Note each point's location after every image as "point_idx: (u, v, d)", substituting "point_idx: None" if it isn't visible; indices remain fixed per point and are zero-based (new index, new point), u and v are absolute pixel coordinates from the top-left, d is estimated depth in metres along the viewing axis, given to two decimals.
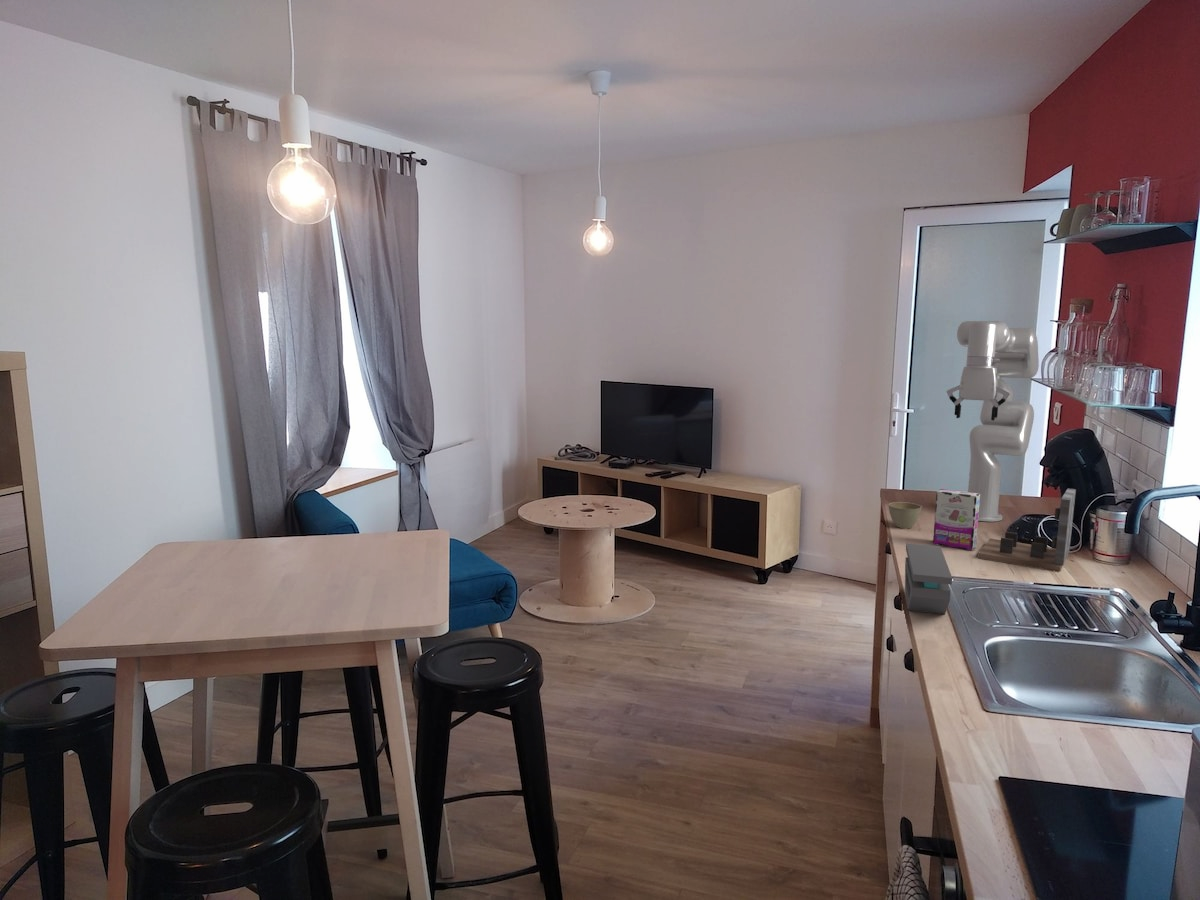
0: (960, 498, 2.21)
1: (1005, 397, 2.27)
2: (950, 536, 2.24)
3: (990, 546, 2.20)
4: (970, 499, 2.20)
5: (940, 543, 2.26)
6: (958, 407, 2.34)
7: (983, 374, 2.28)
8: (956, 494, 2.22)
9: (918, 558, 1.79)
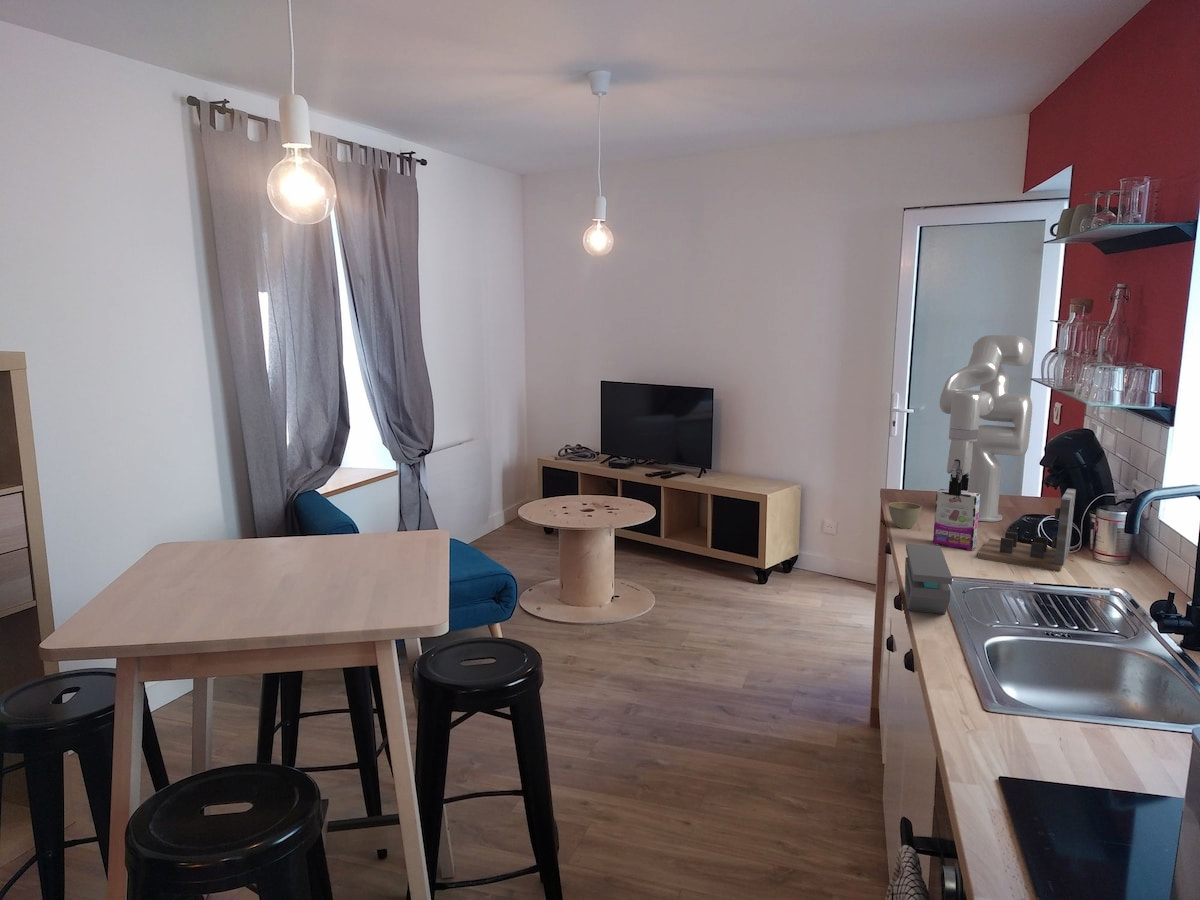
0: (960, 498, 2.21)
1: None
2: (950, 536, 2.24)
3: (990, 546, 2.20)
4: (970, 499, 2.20)
5: (940, 543, 2.26)
6: (961, 484, 2.18)
7: (972, 446, 2.21)
8: None
9: (918, 558, 1.79)
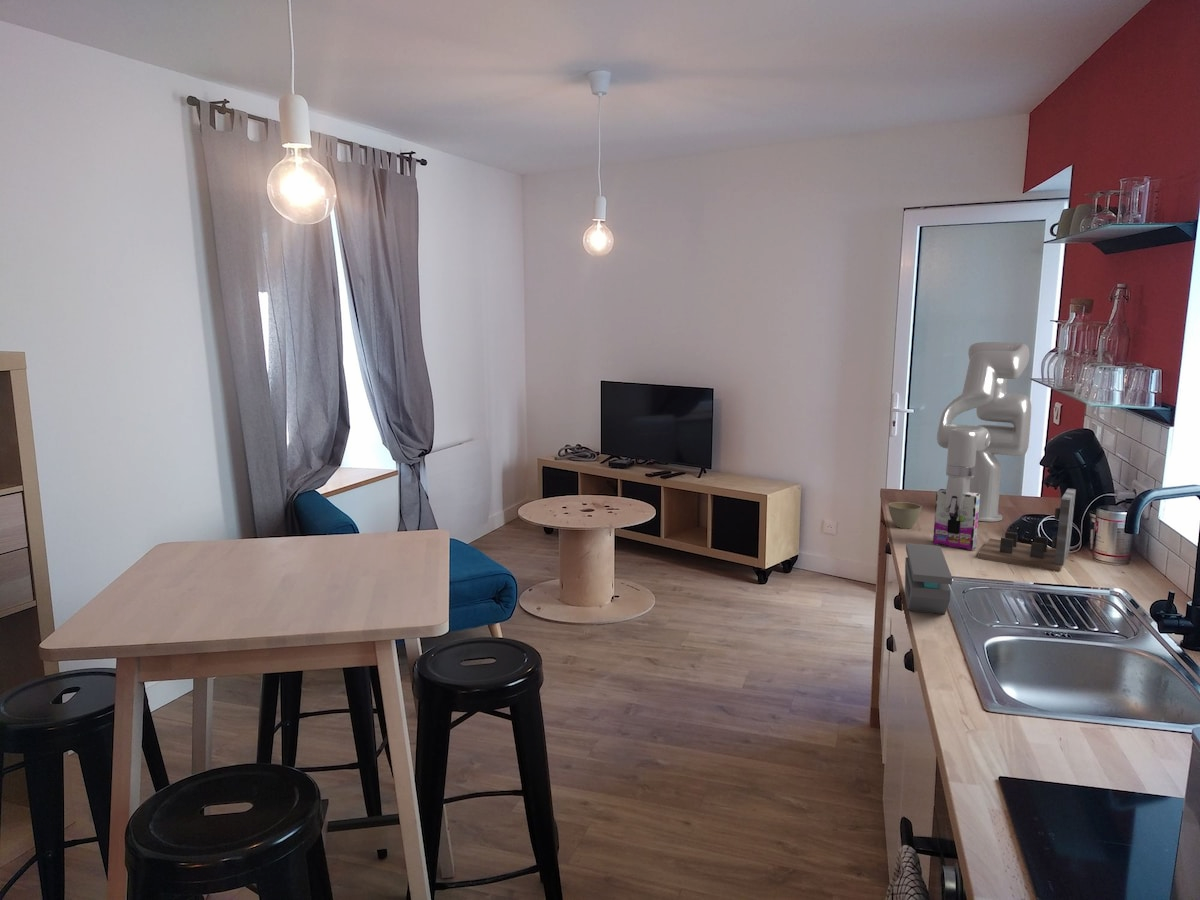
0: None
1: None
2: (950, 535, 2.24)
3: (990, 546, 2.20)
4: (970, 499, 2.20)
5: (940, 543, 2.26)
6: (959, 522, 2.22)
7: (969, 482, 2.23)
8: None
9: (918, 558, 1.79)
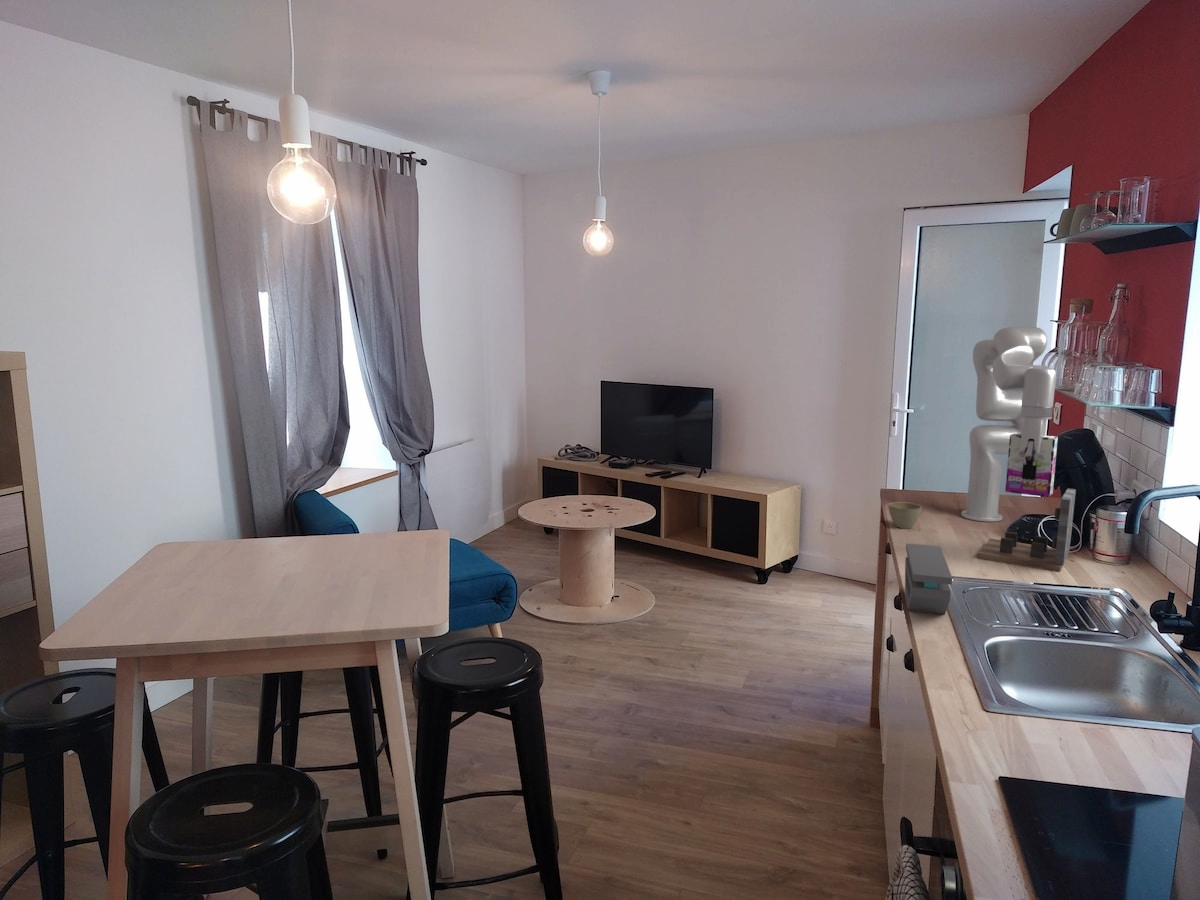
0: None
1: None
2: (1025, 482, 2.11)
3: (990, 546, 2.20)
4: (1048, 442, 2.06)
5: (1013, 490, 2.13)
6: None
7: None
8: None
9: (918, 558, 1.79)
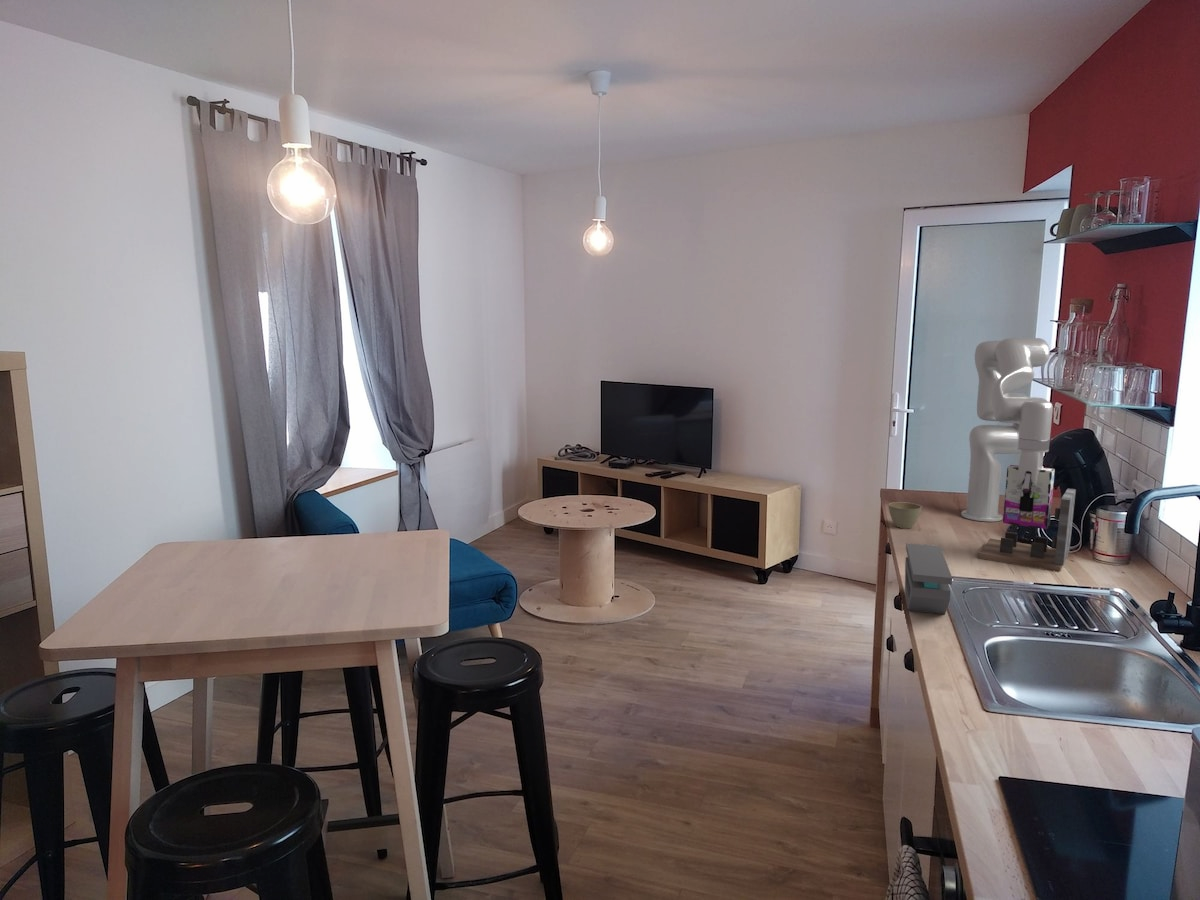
0: None
1: None
2: (1022, 514, 2.12)
3: (990, 546, 2.20)
4: (1045, 474, 2.07)
5: (1011, 522, 2.14)
6: (1033, 500, 2.10)
7: None
8: None
9: (918, 558, 1.79)
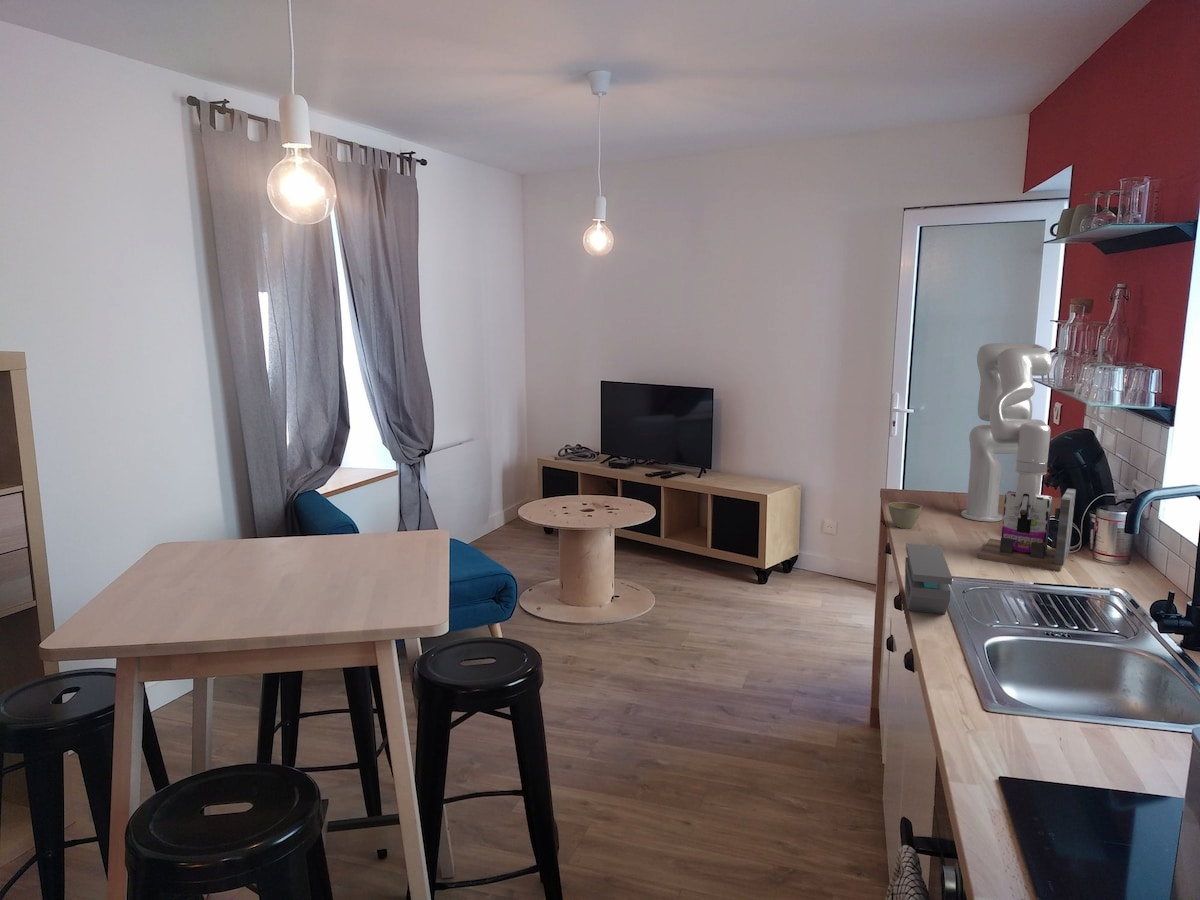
0: None
1: None
2: (1020, 540, 2.14)
3: (990, 546, 2.20)
4: (1042, 502, 2.09)
5: None
6: (1030, 521, 2.10)
7: None
8: None
9: (918, 558, 1.79)
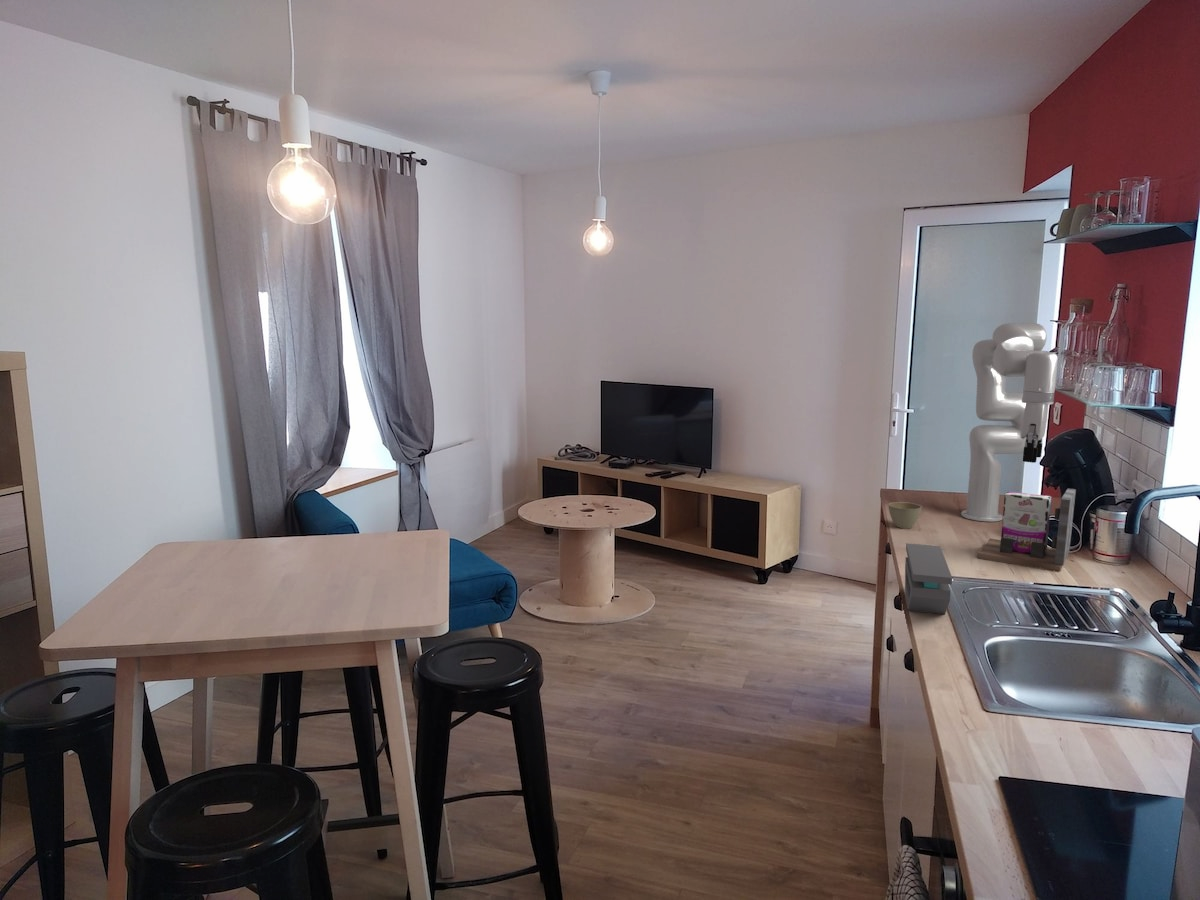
0: (1031, 501, 2.11)
1: None
2: (1019, 540, 2.14)
3: (990, 546, 2.20)
4: (1042, 502, 2.09)
5: None
6: (1037, 450, 2.06)
7: (1047, 410, 2.09)
8: (1026, 497, 2.12)
9: (918, 558, 1.79)
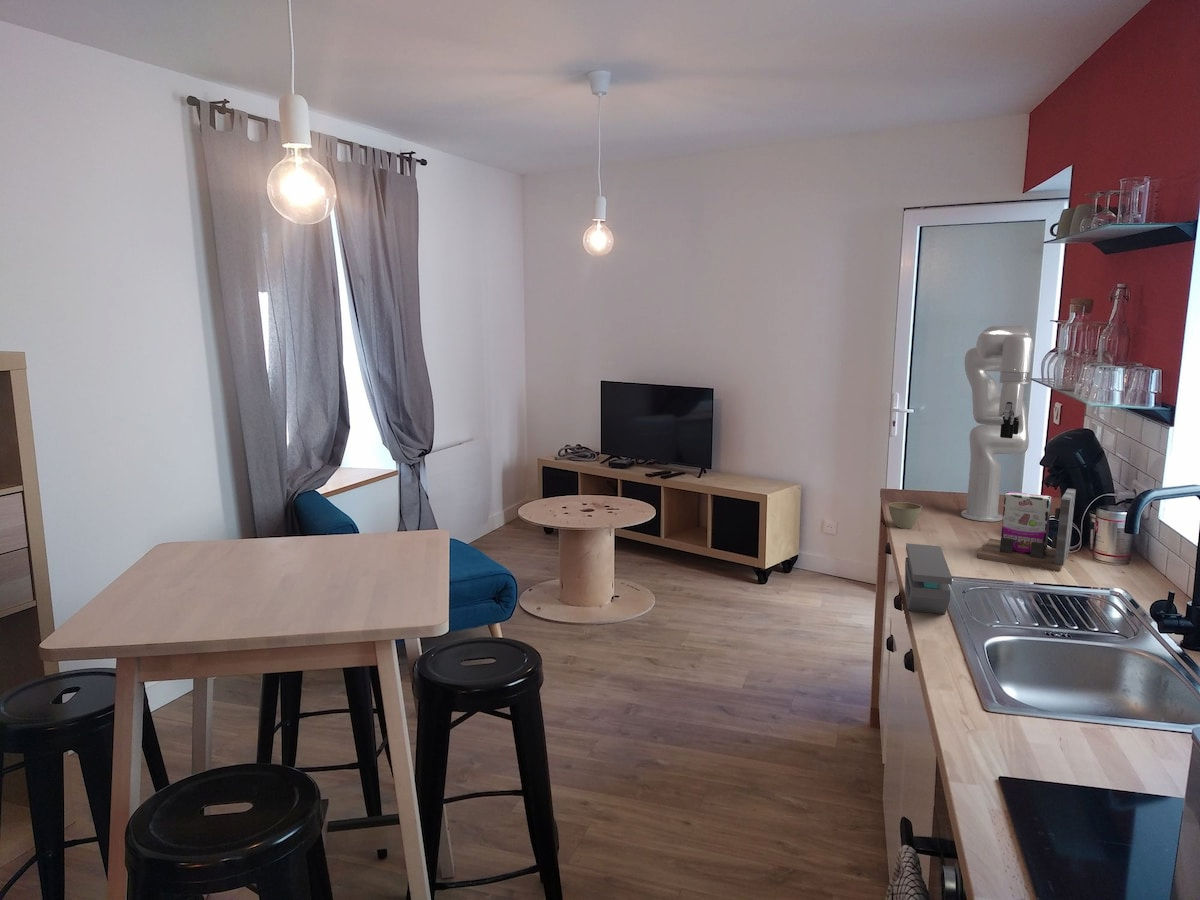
0: (1031, 501, 2.11)
1: None
2: (1019, 540, 2.14)
3: (990, 546, 2.20)
4: (1042, 502, 2.09)
5: None
6: (1013, 427, 2.20)
7: (1023, 389, 2.23)
8: (1026, 497, 2.12)
9: (918, 558, 1.79)
